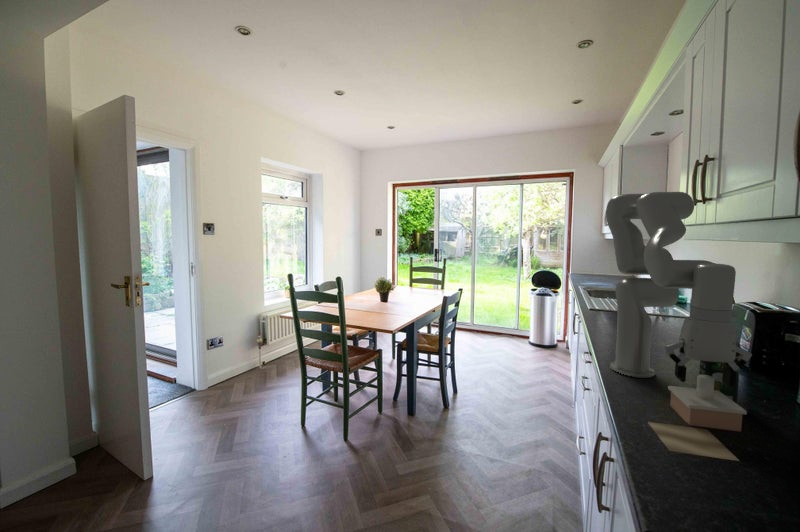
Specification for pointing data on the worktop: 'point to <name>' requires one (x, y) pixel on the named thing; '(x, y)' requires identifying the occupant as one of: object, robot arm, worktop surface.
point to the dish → (707, 416)
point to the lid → (706, 397)
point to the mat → (691, 441)
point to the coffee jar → (717, 372)
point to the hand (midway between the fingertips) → (703, 382)
